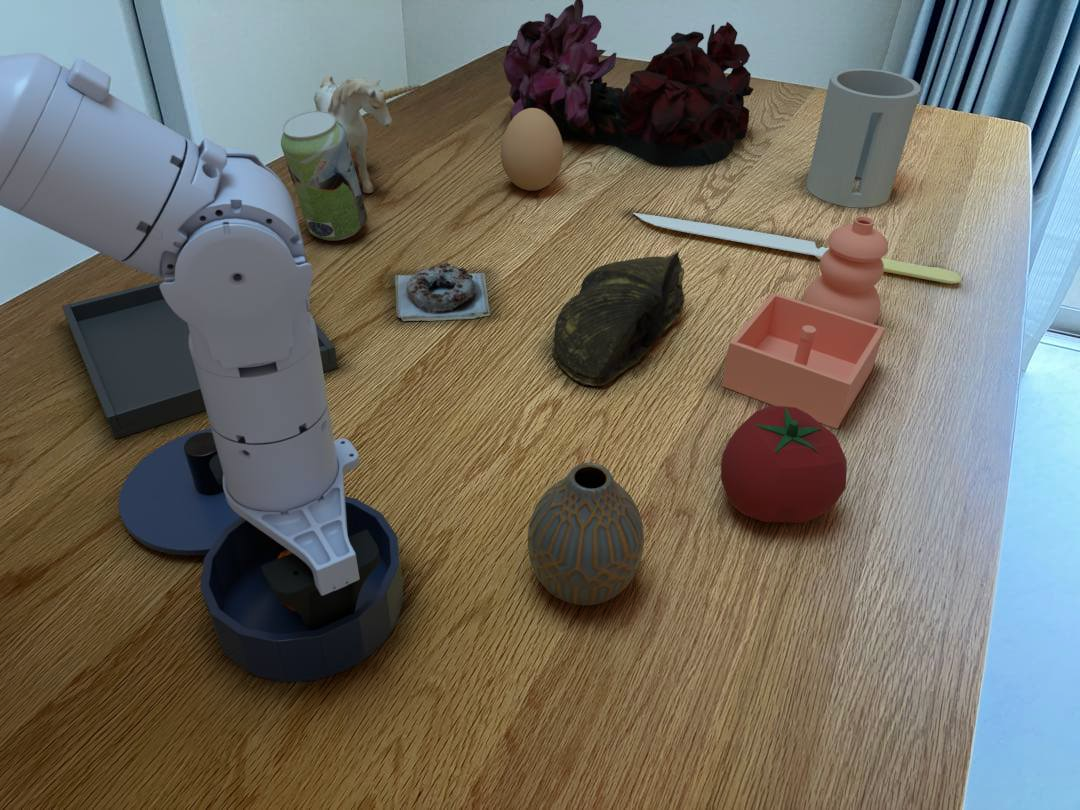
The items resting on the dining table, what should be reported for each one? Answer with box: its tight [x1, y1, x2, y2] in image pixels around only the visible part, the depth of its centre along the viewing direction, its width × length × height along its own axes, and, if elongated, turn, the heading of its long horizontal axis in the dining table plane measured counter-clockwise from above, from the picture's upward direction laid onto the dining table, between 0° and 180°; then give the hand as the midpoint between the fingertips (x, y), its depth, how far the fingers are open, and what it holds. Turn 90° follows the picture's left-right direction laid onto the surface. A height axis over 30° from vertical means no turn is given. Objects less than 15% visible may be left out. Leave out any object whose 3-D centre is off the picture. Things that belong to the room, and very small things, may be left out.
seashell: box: [551, 251, 685, 387], centre depth 75 cm, size 16×9×7 cm, turn 149°
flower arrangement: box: [502, 0, 755, 168], centre depth 107 cm, size 31×20×15 cm, turn 76°
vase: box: [527, 462, 645, 606], centre depth 52 cm, size 7×7×9 cm
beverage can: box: [280, 110, 368, 242], centre depth 86 cm, size 6×7×12 cm
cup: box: [805, 67, 922, 209], centre depth 97 cm, size 9×9×12 cm
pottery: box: [721, 215, 889, 430], centre depth 72 cm, size 18×10×10 cm, turn 147°
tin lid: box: [118, 427, 241, 556], centre depth 59 cm, size 12×12×5 cm
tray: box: [61, 279, 338, 440], centre depth 73 cm, size 17×17×2 cm
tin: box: [199, 496, 405, 683], centre depth 52 cm, size 11×11×4 cm
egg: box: [500, 108, 564, 192], centre depth 96 cm, size 7×7×9 cm
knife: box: [632, 212, 963, 285], centre depth 89 cm, size 1×33×5 cm
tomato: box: [720, 405, 848, 524], centre depth 59 cm, size 8×8×7 cm
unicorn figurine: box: [313, 75, 423, 194], centre depth 94 cm, size 7×20×13 cm, turn 37°
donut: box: [394, 261, 491, 322], centre depth 80 cm, size 8×8×2 cm
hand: (307, 586), depth 52 cm, fingers open, 7 cm apart
